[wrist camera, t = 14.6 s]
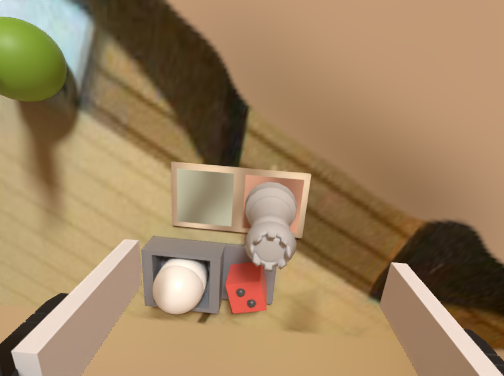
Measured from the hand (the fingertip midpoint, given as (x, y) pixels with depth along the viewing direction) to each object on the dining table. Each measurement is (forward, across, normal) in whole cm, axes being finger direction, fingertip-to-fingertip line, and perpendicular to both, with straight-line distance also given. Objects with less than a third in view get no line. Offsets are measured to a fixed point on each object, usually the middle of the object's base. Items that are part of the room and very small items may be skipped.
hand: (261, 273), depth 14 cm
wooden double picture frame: (+10, -2, 0) cm, 11 cm away
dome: (+10, -7, -8) cm, 14 cm away
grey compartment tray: (+10, -4, -8) cm, 14 cm away
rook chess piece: (+10, +1, 0) cm, 10 cm away
